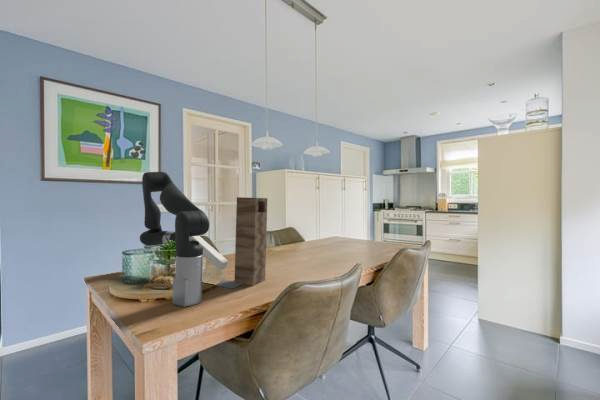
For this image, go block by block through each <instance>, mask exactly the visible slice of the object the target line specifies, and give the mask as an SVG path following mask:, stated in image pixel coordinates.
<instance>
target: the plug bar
mask: <svg viewBox="0 0 600 400" xmlns="http://www.w3.org/2000/svg"><path fill="white" fill-rule="evenodd" d="M189 240H192V241H199V246H202V247H203V258H205V260H207V261H208V262H209V263H210V265H212V266H213V267H215V268H216V269H217V270H218V271H222V270H225V269H226V267H227V266H228V264H229V262H230V261H229V260H228V259H226V257H224V255H222V254H221V253H220V252H219V251H217V250H216V249H215V248H214V247H213V246H211V244H209V242H207V240H206V239H203V237H201V235H200V236H190V237H189ZM205 240H206V241H205Z"/></svg>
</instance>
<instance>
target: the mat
mask: <svg viewBox="0 0 600 400" xmlns="http://www.w3.org/2000/svg"><path fill="white" fill-rule="evenodd" d="M221 280H222V281H221V282H220V283H218V284H216V285H214V286H215V287H221V288H225V289H230V290H233V289H236V288H237V287H240V286H241V285H243V284H242V283H237V282H235V281H231V280H225V279H221Z"/></svg>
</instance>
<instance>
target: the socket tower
mask: <svg viewBox="0 0 600 400" xmlns="http://www.w3.org/2000/svg"><path fill="white" fill-rule="evenodd" d="M235 213H236V215H235V216H236V217H235V219H236V220H235V251H234V253H235V254H234V282H237V283H242V285H245V286H251V287H254V286H256V285H258V284H260V283H262V282H264V281H266V262H267V260H266V258H267V230H268V229H267V227H268V226H267V223H268V222H267V221H268V198H267V197H242V196H241V197H236V211H235Z"/></svg>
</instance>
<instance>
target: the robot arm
mask: <svg viewBox="0 0 600 400" xmlns="http://www.w3.org/2000/svg"><path fill="white" fill-rule="evenodd" d="M141 184H142V186H141V187H142V196H143V197H142V198H143V204H144V223H143V225H144V227H145V228H146V229H148V230H146V231H144V232H141V234H140V235H139V241H140V242H141V244H142V245H144V246H149V247H152V246H153V247H154V246H160V245H161V246H163V245H162V244H163V243H165V242H166V237H167V238H168V239H169V240H173V241H175V246H176V247H175V276H174V277H173V279H172V305H174V306H175V305H176V306H180V307H183V308H186V307H188V306H194V305H198V304H200V303H201V302H202V300H203V283H202V276H203V267H204V266H203V265H204V264H203V263H204V261H203V260H204V257H203V247H202V246H199V241H192V240H189V237H190V236H200V237H201V236H203V235H206V234H207V233H208V231H209V230H210V221H209V218H208V216H207V214H206V213H205V212H204V211H203V210H202V209H201V208H199V207H198V206H196V205H195V204H194V203H193V202H192V201H191V200H190V199H189V198H187V197H186V195H185V193H183V192H182V191H181V190H180V188H178V186H176V184H175V183H174V182H173V180H172V179H171V177H170V175H169V174H168V173H167V172H164V171H148V172H144V173H143V175H142V180H141ZM154 192H155V193H157V192H159V193H160V195H159V202H160V203H161V205H162V206H163V207H164V209H165V210H166V211H167V212H168V213H170V214H172V215H174V216H175V219H174V231H172V230H171V231H167V230H162V224H161V215H162V213H161V212H162V211H161V209H160V207H159V206H158V205H157V203H156V202H155V200H154V199H153V198H152V193H154ZM165 236H166V237H165ZM204 240H205V241H206V242H207V239H204Z"/></svg>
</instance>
